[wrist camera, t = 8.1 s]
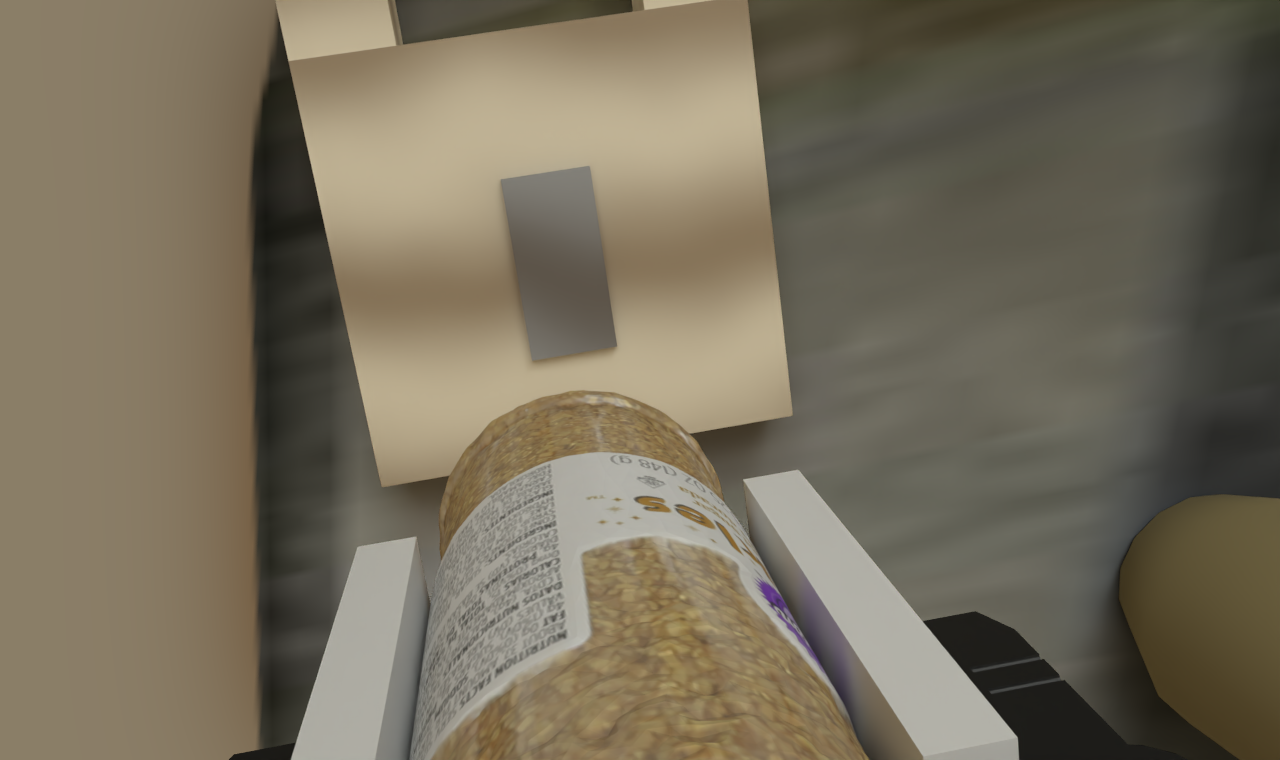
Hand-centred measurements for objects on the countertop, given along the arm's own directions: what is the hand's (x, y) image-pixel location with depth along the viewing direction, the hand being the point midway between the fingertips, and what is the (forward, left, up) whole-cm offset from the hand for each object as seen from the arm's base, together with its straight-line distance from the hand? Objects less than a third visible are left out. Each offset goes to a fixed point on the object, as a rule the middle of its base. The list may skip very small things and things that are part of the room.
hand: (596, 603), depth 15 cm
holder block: (-7, +1, -20) cm, 21 cm away
